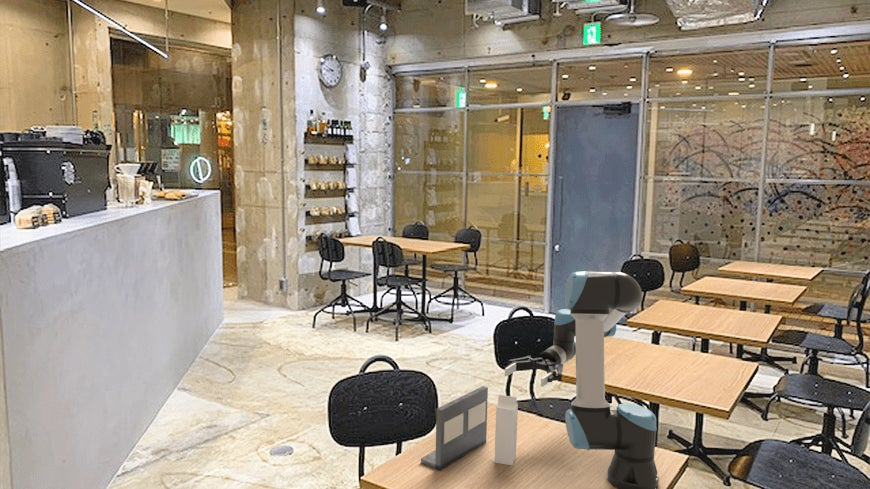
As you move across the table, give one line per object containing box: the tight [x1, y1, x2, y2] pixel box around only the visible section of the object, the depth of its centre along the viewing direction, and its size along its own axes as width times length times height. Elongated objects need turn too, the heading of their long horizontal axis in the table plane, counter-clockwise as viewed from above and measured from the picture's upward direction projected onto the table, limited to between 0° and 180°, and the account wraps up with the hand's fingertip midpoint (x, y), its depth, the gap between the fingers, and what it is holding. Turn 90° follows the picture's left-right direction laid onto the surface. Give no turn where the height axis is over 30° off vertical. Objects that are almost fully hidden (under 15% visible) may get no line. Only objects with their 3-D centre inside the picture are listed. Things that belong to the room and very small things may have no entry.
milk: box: [494, 394, 519, 467], centre depth 204 cm, size 6×6×22 cm
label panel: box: [420, 385, 489, 471], centre depth 208 cm, size 8×26×20 cm, turn 142°
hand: (523, 377), depth 209 cm, fingers open, 13 cm apart
